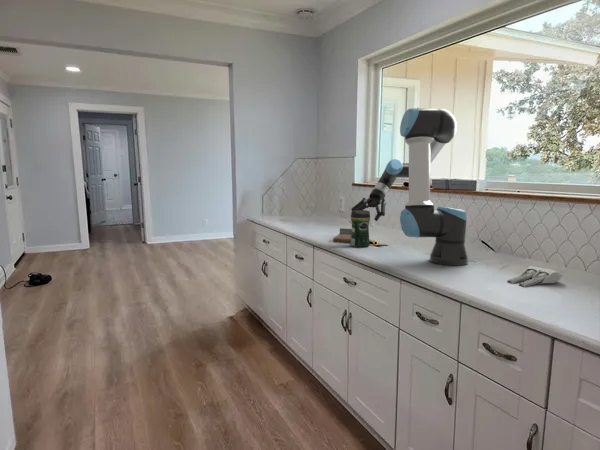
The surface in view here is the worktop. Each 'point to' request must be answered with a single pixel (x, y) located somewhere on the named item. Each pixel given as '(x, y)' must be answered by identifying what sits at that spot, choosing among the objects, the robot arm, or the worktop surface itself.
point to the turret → (536, 276)
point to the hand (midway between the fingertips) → (360, 223)
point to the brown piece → (343, 236)
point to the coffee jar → (360, 228)
